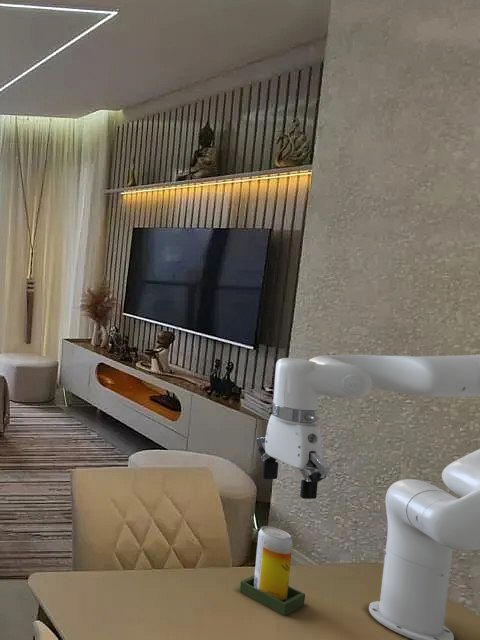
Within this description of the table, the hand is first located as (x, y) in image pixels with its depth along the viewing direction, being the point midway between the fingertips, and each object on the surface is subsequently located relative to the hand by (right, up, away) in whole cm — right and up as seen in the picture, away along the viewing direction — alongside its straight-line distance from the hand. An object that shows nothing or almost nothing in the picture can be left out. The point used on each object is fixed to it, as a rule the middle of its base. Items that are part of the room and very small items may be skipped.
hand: (288, 487), depth 121 cm
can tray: (-2, -27, +2) cm, 27 cm away
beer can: (-2, -26, +3) cm, 26 cm away
